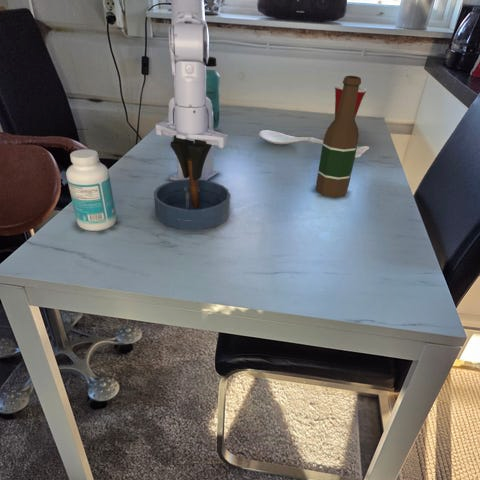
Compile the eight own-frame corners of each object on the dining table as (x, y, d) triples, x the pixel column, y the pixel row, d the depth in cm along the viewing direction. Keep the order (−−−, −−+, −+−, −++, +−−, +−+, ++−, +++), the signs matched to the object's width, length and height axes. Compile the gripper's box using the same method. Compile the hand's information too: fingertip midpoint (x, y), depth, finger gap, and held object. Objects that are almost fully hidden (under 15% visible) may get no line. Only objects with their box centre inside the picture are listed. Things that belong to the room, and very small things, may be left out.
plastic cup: (365, 126, 146) (374, 87, 138) (347, 131, 140) (355, 91, 132) (340, 119, 151) (347, 81, 144) (321, 123, 145) (327, 84, 138)
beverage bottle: (195, 128, 134) (193, 55, 122) (214, 127, 137) (215, 54, 124) (202, 134, 130) (202, 59, 117) (222, 133, 132) (224, 58, 120)
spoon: (357, 166, 115) (360, 153, 112) (253, 143, 126) (254, 130, 124) (367, 157, 121) (370, 145, 119) (267, 135, 132) (268, 124, 130)
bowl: (180, 193, 96) (179, 173, 93) (241, 208, 91) (242, 188, 88) (140, 220, 85) (138, 198, 82) (207, 238, 81) (207, 217, 78)
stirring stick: (194, 203, 91) (189, 157, 84) (201, 205, 90) (196, 158, 83) (190, 207, 90) (185, 160, 83) (197, 208, 89) (192, 161, 82)
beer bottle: (343, 185, 104) (366, 74, 89) (351, 199, 98) (377, 81, 83) (312, 184, 103) (330, 72, 88) (317, 198, 98) (337, 80, 82)
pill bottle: (101, 211, 87) (89, 143, 79) (124, 223, 84) (115, 153, 75) (69, 223, 83) (53, 153, 74) (92, 236, 79) (78, 164, 71)
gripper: (143, 102, 76) (150, 176, 85) (215, 114, 72) (215, 192, 80) (165, 94, 81) (169, 165, 90) (233, 106, 77) (231, 179, 85)
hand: (192, 177), depth 86 cm, fingers closed on stirring stick, 1 cm apart
